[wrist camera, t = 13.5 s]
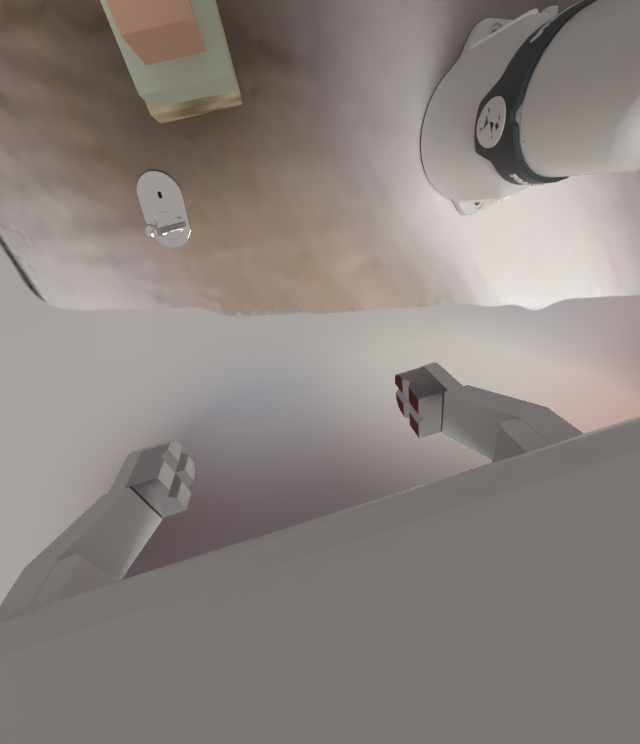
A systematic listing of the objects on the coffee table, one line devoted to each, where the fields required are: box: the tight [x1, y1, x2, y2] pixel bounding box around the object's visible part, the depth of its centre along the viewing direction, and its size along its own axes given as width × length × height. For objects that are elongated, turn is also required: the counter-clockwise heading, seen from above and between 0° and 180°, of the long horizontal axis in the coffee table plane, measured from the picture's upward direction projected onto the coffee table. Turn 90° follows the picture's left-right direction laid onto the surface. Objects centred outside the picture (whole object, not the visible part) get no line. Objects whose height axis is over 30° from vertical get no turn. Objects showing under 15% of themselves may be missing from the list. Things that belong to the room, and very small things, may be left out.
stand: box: [137, 171, 191, 247], centre depth 30 cm, size 8×5×8 cm
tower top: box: [100, 0, 235, 108], centre depth 23 cm, size 8×8×4 cm
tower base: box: [144, 0, 242, 124], centre depth 26 cm, size 9×9×4 cm
